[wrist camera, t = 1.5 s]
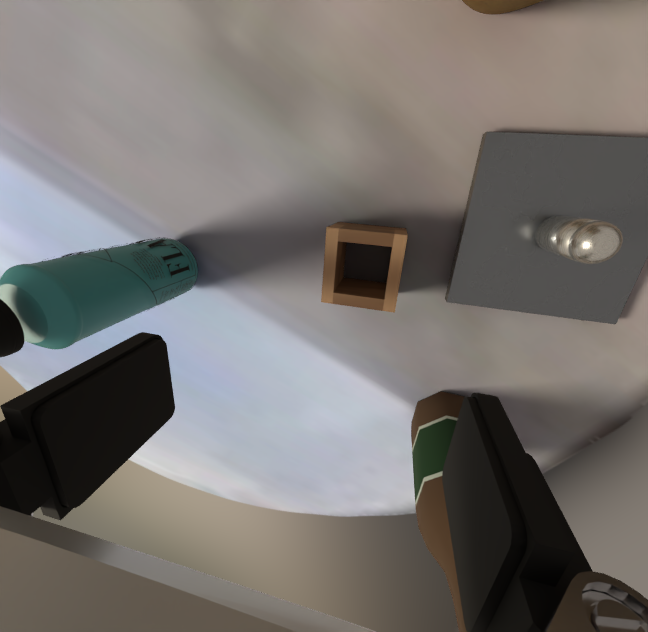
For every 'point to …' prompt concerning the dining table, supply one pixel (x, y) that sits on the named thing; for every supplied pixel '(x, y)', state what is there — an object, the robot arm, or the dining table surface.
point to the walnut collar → (355, 289)
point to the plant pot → (498, 5)
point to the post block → (554, 225)
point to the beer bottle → (435, 481)
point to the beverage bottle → (89, 292)
